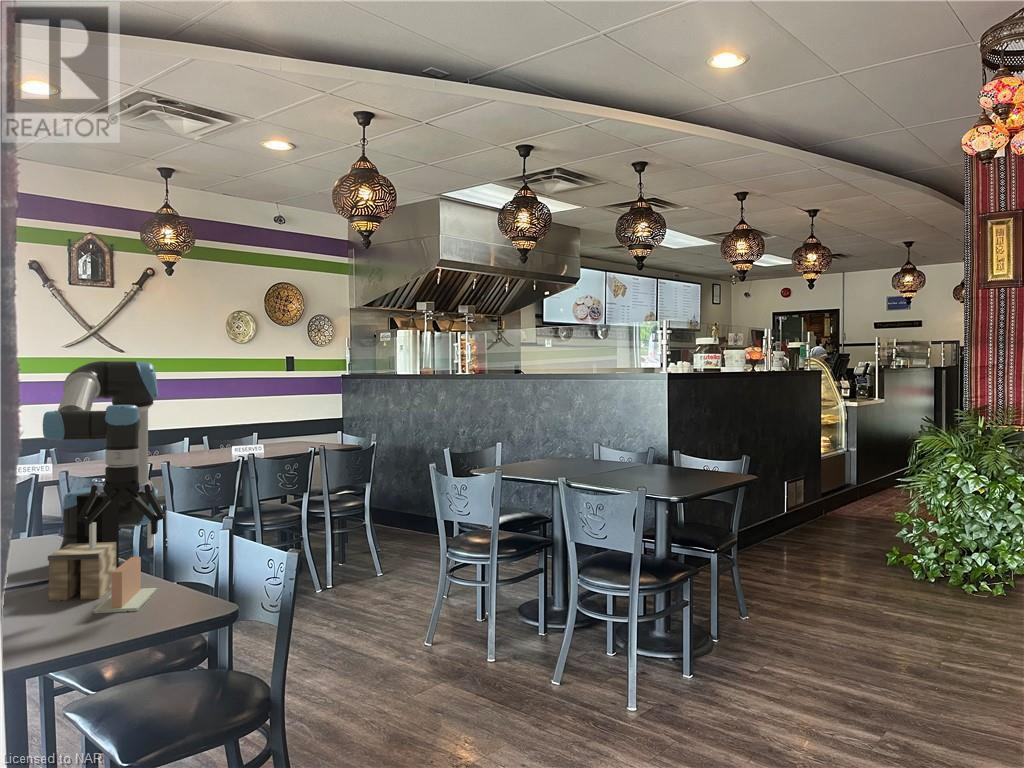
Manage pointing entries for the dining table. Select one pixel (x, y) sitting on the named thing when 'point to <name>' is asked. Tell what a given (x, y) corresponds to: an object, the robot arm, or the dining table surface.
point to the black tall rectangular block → (100, 522)
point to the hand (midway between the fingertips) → (121, 548)
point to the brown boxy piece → (81, 571)
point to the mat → (130, 605)
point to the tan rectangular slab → (126, 582)
